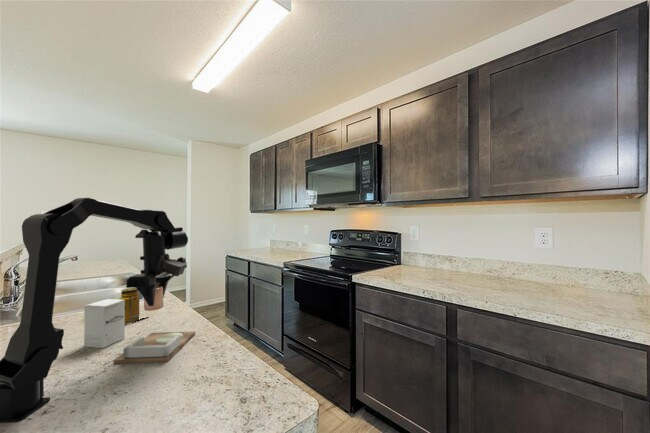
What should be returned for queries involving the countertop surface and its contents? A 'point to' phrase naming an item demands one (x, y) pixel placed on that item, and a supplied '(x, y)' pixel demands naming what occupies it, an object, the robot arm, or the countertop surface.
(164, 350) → the frame
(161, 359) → the board
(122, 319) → the supplement box
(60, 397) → the countertop surface
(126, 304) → the condiment
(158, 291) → the stub
